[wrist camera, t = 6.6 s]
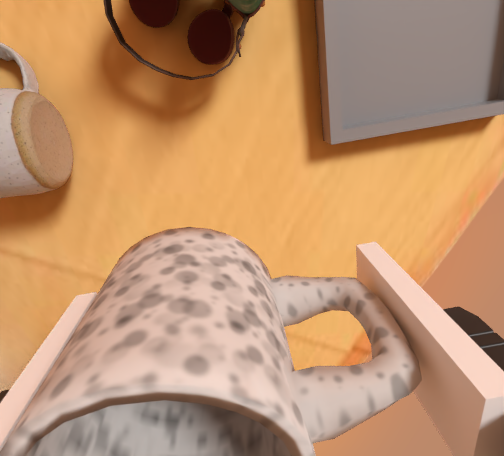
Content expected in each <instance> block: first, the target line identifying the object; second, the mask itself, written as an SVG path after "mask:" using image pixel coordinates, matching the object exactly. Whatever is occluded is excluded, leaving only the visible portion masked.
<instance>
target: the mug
mask: <svg viewBox="0 0 504 456" xmlns="http://www.w3.org/2000/svg"><path fill="white" fill-rule="evenodd" d="M331 310H340V311H349V312H350V313H351V314H352V315H353V316H354V317H355V318H356V319H357V320H358V321H359V322H360V323H361V325H362V326H363V328H364V329H365V331H366V333H367V336H368V338H369V340H370V343H371V347H372V360H371V361H370V362H367V363H362V364H357V365H352V366H315V367H311V368H306V369H302V370H298V371H295V370H294V366H293V362H292V358H291V354H290V350H289V346H288V342H287V338H286V334H285V329H284V326H289V325H293V324H298V323H300V322H302V321H304V320H306V319H309V318H311V317H313V316H315V315H317V314H320V313H323V312H327V311H331ZM421 381H422V377H421V372H420V366H419V361H418V359H417V357H416V355H415V353H414V351H413V349H412V347H411V345H410V343H409V341H408V339H407V338H406V336H405V335H404V333H403V332H402V330H401V329H400V327H399V325H398V324H397V322H396V321H395V319H394V317H393V316H392V314H391V313H390V311H389V310H388V308H387V307H386V306H385V305H384V304H383V303H382V301H381V300H380V299H379V298H378V297H377V296H376V294H374V293H373V292H372V291H371V290H370V289H369V288H367V287H366V286H365V285H364V284H363V283H361V282H360V281H359V280H357V279H356V278H349V277H299V276H283V277H279V278H275V279H271V277H270V274H269V272H268V269H267V267H266V266H265V264H264V263H263V262H262V260H261V259H260V258H259V256H258V255H257V254H256V253H255V252H254V251H253V250H252V249H250V248H249V247H248V246H247V245H246V244H244V243H242V242H241V241H239V240H238V239H236V238H234V237H232V236H229V235H227V234H225V233H222V232H218V231H215V230H211V229H204V228H193V227H186V228H177V229H168V230H165V231H162V232H159V233H156V234H153V235H151V236H148V237H146V238H144V239H142V240H141V241H139V242H138V243H136V244H135V245H133V246H132V247H130V248H129V249H128V250H127V251H126V252H125V253H124V255H123V256H122V257H121V258H120V259H119V261H118V262H117V264H116V265H115V267H114V268H113V270H112V271H111V273H110V275H109V276H108V278H107V280H106V281H105V283H104V284H103V286H102V288H101V289H100V291H99V292H98V294H97V296H96V297H95V299H94V301H93V302H92V304H91V305H90V307H89V309H88V310H87V312H86V313H85V315H84V317H83V318H82V320H81V322H80V323H79V325H78V326H77V328H76V330H75V331H74V333H73V334H72V336H71V338H70V339H69V341H68V343H67V344H66V346H65V347H64V349H63V351H62V352H61V354H60V355H59V357H58V359H57V360H56V362H55V364H54V365H53V367H52V368H51V370H50V372H49V373H48V375H47V376H46V378H45V380H44V381H43V383H42V385H41V386H40V388H39V389H38V391H37V393H36V394H35V396H34V397H33V399H32V401H31V402H30V404H29V406H28V407H27V409H26V410H25V412H24V414H23V415H22V417H21V418H20V420H19V422H18V423H17V425H16V427H15V428H14V430H13V431H12V433H11V435H10V436H9V438H8V439H7V441H6V443H5V444H4V446H3V448H2V449H1V451H0V456H315V451H314V447H313V443H316V442H320V441H325V440H330V439H334V438H336V437H338V436H340V435H341V434H343V433H345V432H347V431H348V430H350V429H351V428H353V427H355V426H357V425H359V424H360V423H362V422H364V421H366V420H367V419H369V418H371V417H373V416H374V415H376V414H378V413H379V412H381V411H383V410H385V409H386V408H388V407H389V406H391V405H392V404H394V403H395V402H396V401H398V400H399V399H401V398H403V397H405V396H407V395H409V394H410V393H411V392H412V391H413V390H415V389H416V387H417V386H418V385H419V383H420V382H421Z"/></svg>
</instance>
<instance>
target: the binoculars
mask: <svg viewBox="0 0 504 456" xmlns="http://www.w3.org/2000/svg"><path fill="white" fill-rule="evenodd" d="M129 3H130V5H131V8H132V10H133V12H134V14H135V15H136V16H137V18H138V19H139V20H140V21H141V22H143V23H144V24H146V25H148V26H151V27H163V26H165V25H167V24H169V23H170V22H171V21H172V20H173V19H174V18H175V16H176V14H177V11H178V5H179V0H129ZM224 4H225V5H224V8H223V10H222V11H220V10H217V9H211V10H206V11H204V12H202V13H201V14H199V15H198V16H197V17H196V18H195V19H194V20H193V21H192V23H191V25H190V27H189V30H188V44H189V48H190V50H191V52H192V54H193V55H194V56H195V58H197V59H198V60H199V61H201V62H202V63H205V64H219V63H222V62H224V61H225V60H226V59H227V58H228V57H229V56H230V54H231V52H232V50H233V46H234V28H233V24H232V22H231V20H230V17H231V15H232V13H233V10H235V11H237V12H238V13H239V14H240V15H241V16H242V17H243V22H242V25H241V27H240V28H239V29H238V31H237V36H236V52H235V54H234V55H233V57H232V59H231V60H230V62H229V64H227V65H226V66H224V67H223V68H221V69H220V70H218V71H217V72H215V73H214V74H209V75H204V76H198V77H188V76H182V75H176V74H173V73H171V72H168V71H165V70H163V69H160V68H158V67H156V66H155V65H153V64H151V63H149V62H147V61H145V60H144V59H142V58H141V57H140V56H139V55H138V54H137V53H136V52H135V51H134V50H133V49H132V48H131V47H130V46H129V45H128V44H127V43H126V42H125V40H124V38H123V36H122V34H121V32H120V30H119V27H118V25H117V23H116V21H115V19H114V17H113V12H112V5H111V0H104V7H105V13H106V16H107V18H108V21H109V23H110V25H111V27H112V29H113V31H114V33H115V35H116V37H117V39H118V41H119V43H120V44H121V45H122V46H123V47H124V48H125V49H126V50H127V51H128V52H129V53H131V54H132V55H133V56H134V57H135V58H136V59H137V60H138V61H139V62H141V63H143V64H145V65H147V66H149V67H150V68H152V69H154V70H156V71H158V72H161V73H164V74H166V75H169V76H172V77H177V78H183V79H189V80H194V79H199V78H205V77H210V76H214V75H215V74H217V73H218V72H220V71H221V70H223V69H224V68H226V67H228V66H229V65H230V64H231V63H232V61H233V59H234V58H235V56H236V54H237V52H238V53H239V57H241V54H240V49H241V45H240V41H241V40H242V38H243V36H244V29H245V26H246V23H247V22H248V21H249V18H250V17H252V16H254V15H255V14H256V13H257V12H258V11H259V9H260V7H263V6H264V5H265V0H224ZM239 35H240V36H241V37H240V39H239V41H238V37H239Z"/></svg>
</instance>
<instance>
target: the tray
mask: <svg viewBox="0 0 504 456" xmlns="http://www.w3.org/2000/svg"><path fill="white" fill-rule="evenodd" d="M314 1H315V17H316V33H317V48H318V64H319V79H320V95H321V110H322V126H323V141H325V142H327V143H329V144H331V145H332V144H338V143H344V142H349V141H355V140H360V139H366V138H372V137H377V136H383V135H389V134H394V133H400V132H405V131H411V130H417V129H422V128H428V127H433V126H439V125H445V124H450V123H456V122H462V121H467V120H473V119H478V118H484V117H490V116H495V115H501V114H504V0H314Z"/></svg>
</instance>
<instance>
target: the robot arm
mask: <svg viewBox="0 0 504 456" xmlns="http://www.w3.org/2000/svg"><path fill="white" fill-rule="evenodd" d="M356 254H357V280H359V281H360V282H361V283H363V284H364V285H365V286H366V287H367V288H369V289H370V290H371V291H372V292H373V293H374V294H376V296H377V297H378V298H379V299H380V300H381V301H382V303H383V304H384V305H385V306H386V307H387V308H388V310H389V311H390V313H391V314H392V316H393V317H394V319H395V321H396V322H397V324H398V325H399V327H400V329H401V330H402V332H403V333H404V335H405V336H406V338H407V339H408V341H409V343H410V345H411V347H412V349H413V351H414V353H415V355H416V357H417V359H418V361H419V366H420V372H421V377H422V381H421V382H420V383H419V385H418V386H417V387H416V389H415V390H413V392H414V394H415V395H416V396H417V398H418V400H419V402H420V403H421V405H422V406H423V408H424V410H425V411H426V413H427V414H428V416H429V418H430V419H431V421H432V422H433V424H434V425H435V427H436V429H437V430H438V432H439V434H440V435H441V437H442V438H443V440H444V442H445V443H446V445H447V446H448V448H449V449H450V451H451V453H452V454H453V456H504V339H502V338H501V337H500V336H499V335H498V334H497V333H494V332H493V330H492V329H491V328H490V327H489V326H488V325H487V324H486V323H485V322H483V321H482V320H481V319H480V318H479V317H478V316H476V315H474V314H472V313H470V312H468V311H466V310H464V309H462V308H461V307H454V308H448V309H442V308H441V307H440V306H439V305H438V304H436V302H434V300H433V299H432V298H431V297H430V296H429V295H428V294H427V293H426V292H425V291H424V290H423V289H422V288H421V287H420V286H419V285H418V284H417V283H416V282H415V281H414V280H413V279H412V278H411V277H410V276H409V275H408V274H407V273H406V272H405V271H404V270H403V269H402V268H401V267H400V266H399V265H398V264H397V263H396V262H395V261H394V260H393V259H392V258H391V257H390V256H389V255H388V254H387V253H386V252H385V251H384V250H383V249H382V248H381V247H380V246H379V245H378V244H377V243H376V242H371V243H366V244H360V245H356ZM96 296H97V293H96V292H94V293H88V294H83V295H77V296H76V297H75V298H74V300H73V301H72V303H71V304H70V306H69V307H68V308H67V310H66V311H65V313H64V314H63V315H62V317H61V318H60V320H59V321H58V322H57V324H56V325H55V327H54V328H53V329H52V331H51V332H50V334H49V335H48V337H47V338H46V339H45V341H44V342H43V344H42V345H41V346H40V348H39V349H38V351H37V352H36V353H35V355H34V356H33V358H32V359H31V360H30V362H29V363H28V365H27V366H26V368H25V369H24V370H23V372H22V373H21V375H20V376H19V377H18V379H17V380H16V382H15V383H14V384H13V386H12V387H11V389H10V390H5V391H2V392H1V393H0V451H1V449H2V448H3V446H4V444H5V443H6V441H7V439H8V438H9V436H10V435H11V433H12V431H13V430H14V428H15V427H16V425H17V423H18V422H19V420H20V418H21V417H22V415H23V414H24V412H25V410H26V409H27V407H28V406H29V404H30V402H31V401H32V399H33V397H34V396H35V394H36V393H37V391H38V389H39V388H40V386H41V385H42V383H43V381H44V380H45V378H46V376H47V375H48V373H49V372H50V370H51V368H52V367H53V365H54V364H55V362H56V360H57V359H58V357H59V355H60V354H61V352H62V351H63V349H64V347H65V346H66V344H67V343H68V341H69V339H70V338H71V336H72V334H73V333H74V331H75V330H76V328H77V326H78V325H79V323H80V322H81V320H82V318H83V317H84V315H85V313H86V312H87V310H88V309H89V307H90V305H91V304H92V302H93V301H94V299H95V297H96Z"/></svg>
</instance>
